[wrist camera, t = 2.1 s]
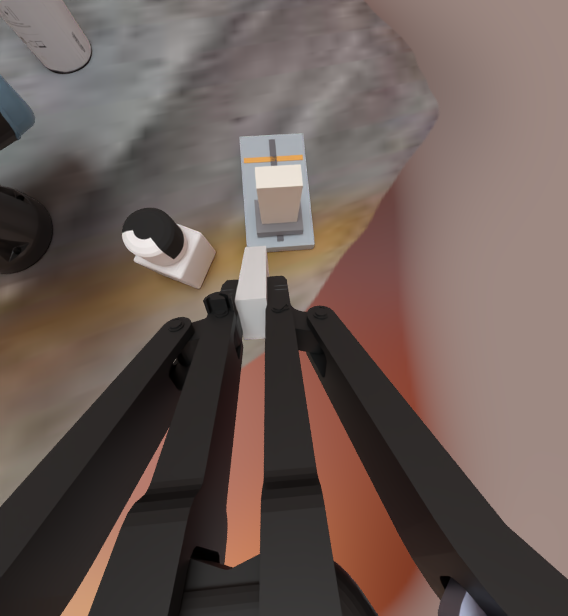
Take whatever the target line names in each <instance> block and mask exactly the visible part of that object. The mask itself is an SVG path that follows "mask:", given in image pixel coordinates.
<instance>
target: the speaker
mask: <svg viewBox="0 0 568 616" xmlns="http://www.w3.org/2000/svg"><path fill="white" fill-rule="evenodd" d="M0 16H1V17H2V18H3V19H4V20H5V21H6V22H7V24H8V25H9V26H10V27H11V28H12V29H13V30H14V32H15V33H16V34H17V35H18V36H19V37H20V38H21V39H22V41H23V42H24V43H25V44H26V45H27V46H28V47H29V49H30V50H31V51H32V52H33V53H34V54H35V55H36V57H37V58H38V59H39V60H40V61H41V62H42V63H43V64H44V65H45V66H46V67H47V68H49V69H50V70H53V71H55V72H58V73H70V72H74V71H76V70H79V69H81V68H82V67H83V66H84V65H85V64H86V63H87V62H88V60H89V58H90V55H91V46H90V43H89V41H88V39H87V37H86V36H85V34H84V33H83V31H82V30H81V28H80V27H79V25H78V24H77V22H76V20H75V19H74V17H73V16H72V14H71V13H70V11H69V10H68V8H67V7H66V5H65V3H64V2H63V0H0Z"/></svg>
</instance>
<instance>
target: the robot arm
mask: <svg viewBox="0 0 568 616" xmlns="http://www.w3.org/2000/svg"><path fill="white" fill-rule="evenodd" d="M34 123H35V116H34V113H33V111H32V109H31V108H30V107H29V105H28V104H27V103H26V102H25V101H24V100H23V99H22V98H21V97H20V96H19V94H18V93H17V92H16V91H15V90H14V89H13V88H12V87H11V86H10V85H9V84H8V83H7V82H6V80H5V79H4V78H3V77H2V76H1V75H0V150H2V149H4V148H5V147H7V146H8V145H10V144H11V143H13V142H15V141H16V140H19V139H20V138H21V135H22V134H24V133H25V132H26V131H27V130H28V129H29V128H31V127H32V126H33V125H34ZM51 236H52V222H51V218H50V216H49V214H48V212H47V210H46V209H45V208H44V206H43V205H42V204H40V203H39V202H38V201H36V200H35V199H33V198H31V197H29V196H27V195H25V194H24V193H22V192H20V191H17V190H15V189H12V188H8V187H5V186H1V185H0V274H8V273H14V272H18V271H21V270H23V269H25V268H27V267H29V266H31V265H32V264H34V263H35V262H36V261H37V260H38V259H39V258H40V257H41V256H42V255H43V254H44V252H45V251H46V249H47V247H48V245H49V243H50V240H51ZM203 302H204V305H205V308H206V310H207V313H208V315H207V318H205V319H202V320H199V321H196V322H193V323H191V320H190V319H188V318H185V317H178V318H175V319H172V320H170V321H168V322H167V323H166V324H164V325H163V326H162V328H161V329H160V330H159V331H158V332H157V333H156V334H155V335H154V337H153V338H152V339H151V340H150V341H149V342H148V343H147V344H146V345H145V347H144V348H143V349H142V350H141V351H140V352H139V353H138V354H137V355H136V357H135V358H134V359H133V360H132V361H131V362H130V363H129V364H128V365H127V367H126V368H125V369H124V370H123V371H122V372H121V373H120V374H119V375H118V377H117V378H116V379H115V380H114V381H113V382H112V383H111V384H110V385H109V387H108V388H107V389H106V390H105V391H104V392H103V393H102V394H101V395H100V397H99V398H98V399H97V400H96V401H95V402H94V403H93V404H92V405H91V407H90V408H89V409H88V410H87V411H86V412H85V413H84V414H83V416H82V417H81V418H80V419H79V420H78V421H77V422H76V423H75V424H74V426H73V427H72V428H71V429H70V430H69V431H68V432H67V433H66V434H65V436H64V437H63V438H62V439H61V440H60V441H59V442H58V443H57V444H56V446H55V447H54V448H53V449H52V450H51V451H50V452H49V453H48V454H47V456H46V457H45V458H44V459H43V460H42V461H41V462H40V463H39V464H38V466H37V467H36V468H35V469H34V470H33V471H32V472H31V473H30V474H29V476H28V477H27V478H26V479H25V480H24V481H23V482H22V483H21V485H20V486H19V487H18V488H17V489H16V490H15V491H14V492H13V493H12V495H11V496H10V497H9V498H8V499H7V500H6V501H5V502H4V503H3V505H2V506H1V507H0V616H60V615H61V614H62V612H63V611H64V609H65V608H66V606H67V605H68V603H69V602H70V600H71V599H72V597H73V596H74V594H75V593H76V591H77V589H78V587H79V586H80V584H81V582H82V581H83V579H84V577H85V576H86V574H87V572H88V571H89V569H90V567H91V566H92V564H93V562H94V560H95V559H96V557H97V555H98V553H99V552H100V550H101V548H102V546H103V544H104V542H105V541H106V539H107V537H108V535H109V534H110V532H111V530H112V528H113V526H114V525H115V523H116V521H117V519H118V518H119V516H120V514H121V512H122V510H123V509H124V507H125V505H126V503H127V502H128V500H129V498H130V496H131V494H132V493H133V491H134V489H135V487H136V485H137V484H138V482H139V480H140V478H141V476H142V475H143V473H144V471H145V469H146V468H147V466H148V464H149V462H150V460H151V459H152V457H153V455H154V453H155V452H156V450H157V448H158V446H159V444H160V442H161V441H162V439H163V437H164V436H165V434H166V432H167V430H168V428H169V430H168V433H167V436H166V439H165V442H164V445H163V448H162V451H161V454H160V457H159V460H158V463H157V466H156V469H155V472H154V475H153V478H152V481H151V483H150V486H149V488H148V490H147V492H146V493H145V495H144V496H142V497H141V498H140V499H139V500H138V501H137V502H135V504H134V505H133V506H132V508H131V509H130V511H129V512H128V514H127V516H126V518H125V520H124V523H123V525H122V527H121V529H120V532H119V535H118V537H117V540H116V543H115V545H114V548H113V551H112V553H111V556H110V559H109V561H108V564H107V567H106V569H105V572H104V575H103V577H102V580H101V583H100V585H99V588H98V590H97V593H96V596H95V598H94V601H93V604H92V606H91V609H90V612H89V614H88V616H378V614H377V613H376V612H375V610H374V609H373V607H372V606H371V604H370V602H369V601H368V599H367V598H366V596H365V595H364V593H363V592H362V590H361V589H360V588H359V586H358V585H357V584H356V582H355V581H354V580H353V579H352V578H351V577H350V575H349V574H348V573H347V572H346V571H345V570H344V569H343V568H342V567H341V566H340V565H338V564H337V563H336V562H334V561H333V555H332V549H331V543H330V536H329V530H328V525H327V518H326V511H325V505H324V500H323V494H322V489H321V485H320V482H319V479H318V475H317V469H316V463H315V456H314V450H313V443H312V437H311V430H310V423H309V417H308V410H307V404H306V397H305V391H304V384H303V379H302V378H303V377H302V371H301V364H300V358H299V352H298V350H300V351H306V353H307V356H308V358H309V360H310V362H311V363H312V366H313V367H314V369H315V371H316V373H317V375H318V377H319V379H320V381H321V383H322V385H323V387H324V389H325V391H326V393H327V395H328V397H329V399H330V401H331V403H332V404H333V407H334V409H335V410H336V412H337V414H338V416H339V418H340V420H341V422H342V424H343V426H344V428H345V430H346V432H347V434H348V436H349V438H350V440H351V442H352V444H353V446H354V448H355V450H356V452H357V454H358V456H359V457H360V460H361V461H362V463H363V465H364V467H365V469H366V471H367V473H368V475H369V477H370V479H371V481H372V483H373V485H374V487H375V489H376V491H377V493H378V495H379V497H380V499H381V501H382V503H383V504H384V506H385V508H386V510H387V512H388V514H389V516H390V518H391V520H392V522H393V524H394V526H395V528H396V530H397V532H398V534H399V536H400V537H401V539H402V541H403V543H404V545H405V546H406V548H407V550H408V552H409V554H410V555H411V557H412V559H413V560H414V562H415V564H416V565H417V567H418V568H419V570H420V571H421V573H422V574H423V576H424V577H425V579H426V581H427V582H428V584H429V585H430V587H431V588H432V589H433V591H434V592H435V593H436V595H437V596H438V597H439V599H440V600H441V601H440V605H439V609H438V616H568V579H567V578H566V577H565V576H563V575H562V574H561V573H560V572H559V571H558V570H556V569H555V568H554V567H553V566H552V565H551V564H550V563H548V562H547V561H546V560H545V559H544V558H543V557H542V556H541V555H540V554H538V553H537V552H536V551H535V550H534V549H533V548H532V547H530V546H529V545H528V544H527V543H526V542H525V541H524V540H523V539H521V538H520V537H519V536H518V535H517V534H516V533H515V532H513V531H512V530H511V529H510V528H509V527H508V526H507V525H506V524H505V523H504V522H503V521H502V519H501V518H500V517H499V515H498V514H497V513H496V512H495V511H494V509H493V508H492V507H491V506H490V504H488V502H487V501H486V499H485V498H484V497H483V496H482V494H481V493H480V492H479V491H478V489H476V487H475V486H474V485H473V483H472V482H471V481H470V480H469V479H468V477H467V476H466V475H465V473H464V472H463V471H462V470H461V468H460V467H459V466H458V465H457V464H456V462H455V461H454V460H453V459H452V458H451V456H450V455H449V454H448V452H447V451H446V450H445V449H444V448H443V446H442V445H441V444H440V443H439V441H438V440H437V439H436V438H435V436H434V435H433V434H432V433H431V431H430V430H429V429H428V428H427V426H426V425H425V424H424V423H423V421H422V420H421V419H420V418H419V416H418V415H417V414H416V413H415V412H414V410H413V409H412V408H411V407H410V405H409V404H408V403H407V402H406V400H405V399H404V398H403V397H402V395H401V394H400V393H399V392H398V390H397V389H396V388H395V387H394V386H393V384H392V383H391V382H390V381H389V379H388V378H387V377H386V376H385V374H384V373H383V372H382V371H381V369H380V368H379V367H378V366H377V365H376V363H375V362H374V361H373V360H372V358H371V357H370V356H369V355H368V353H367V352H366V351H365V350H364V348H363V347H362V346H361V345H360V344H359V342H358V341H357V340H356V339H355V337H354V336H353V335H352V334H351V332H350V331H349V330H348V329H347V328H346V326H345V325H344V324H343V322H342V321H341V320H340V319H339V318H338V316H337V315H336V314H335V312H334V311H333V310H331V309H330V308H328V307H325V306H314V307H312V308H310V309H309V310H308V312H302V311H298V310H296V309H294V308H293V307H292V306H291V304H290V299H289V292H288V285H287V279H286V278H285V277H284V276H272V277H269V269H268V260H267V250H266V246H255V247H245V251H244V256H243V261H242V266H241V271H240V276H239V280H227V281H226V282H225V283H224V284H223V285H222V288H221V291H220V292H215V293H212V294H210V295H208V296H207V297H205V299H204V300H203ZM242 335H243V338H244V340H250V339H262V338H265V416H264V417H265V419H264V483H263V488H262V496H261V529H260V554H259V555H257V556H255V557H253V558H251V559H249V560H247V561H245V562H243V563H241V564H239V565H237V566H236V567H234V568H232V567H229V566H226V565H224V562H225V552H226V542H227V513H226V504H227V493H228V483H229V475H230V465H231V456H232V447H233V438H234V429H235V420H236V410H237V401H238V391H239V382H240V372H241V364H242V355H243V343H242ZM175 359H176V361H175ZM174 361H175V362H174ZM173 362H174V363H173Z"/></svg>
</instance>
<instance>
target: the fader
mask: <svg viewBox="0 0 568 616" xmlns="http://www.w3.org/2000/svg"><path fill="white" fill-rule="evenodd" d="M255 178H256V190H257V196H258V200H254V203H255V217H256V230H257V237H264V236H278V235H293V234H303V230H304V229H303V219H302V209H301V194H302V188H303V181H302V171H301V164H297V165H280V166H263V167H255Z"/></svg>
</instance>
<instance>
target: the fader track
mask: <svg viewBox="0 0 568 616" xmlns="http://www.w3.org/2000/svg"><path fill="white" fill-rule="evenodd" d="M240 151H241V166H242V180H243V195H244V209H245V224H246V239H247V247H255V246H266V250H267V252H276V251H290V250H303V249H313V247H314V245H315V244H314V234H313V225H312V215H311V205H310V196H309V186H308V177H307V167H306V158H305V148H304V138H303V133H300V134H281V135H263V136H244V137H240ZM297 164H301V171H302V181H303V188H302V194H301V209H302V219H303V229H304V230H303V234H293V235H278V236H264V237H257V230H256V217H255V203H254V200H258V196H257V190H256V178H255V167H263V166H280V165H297Z"/></svg>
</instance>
